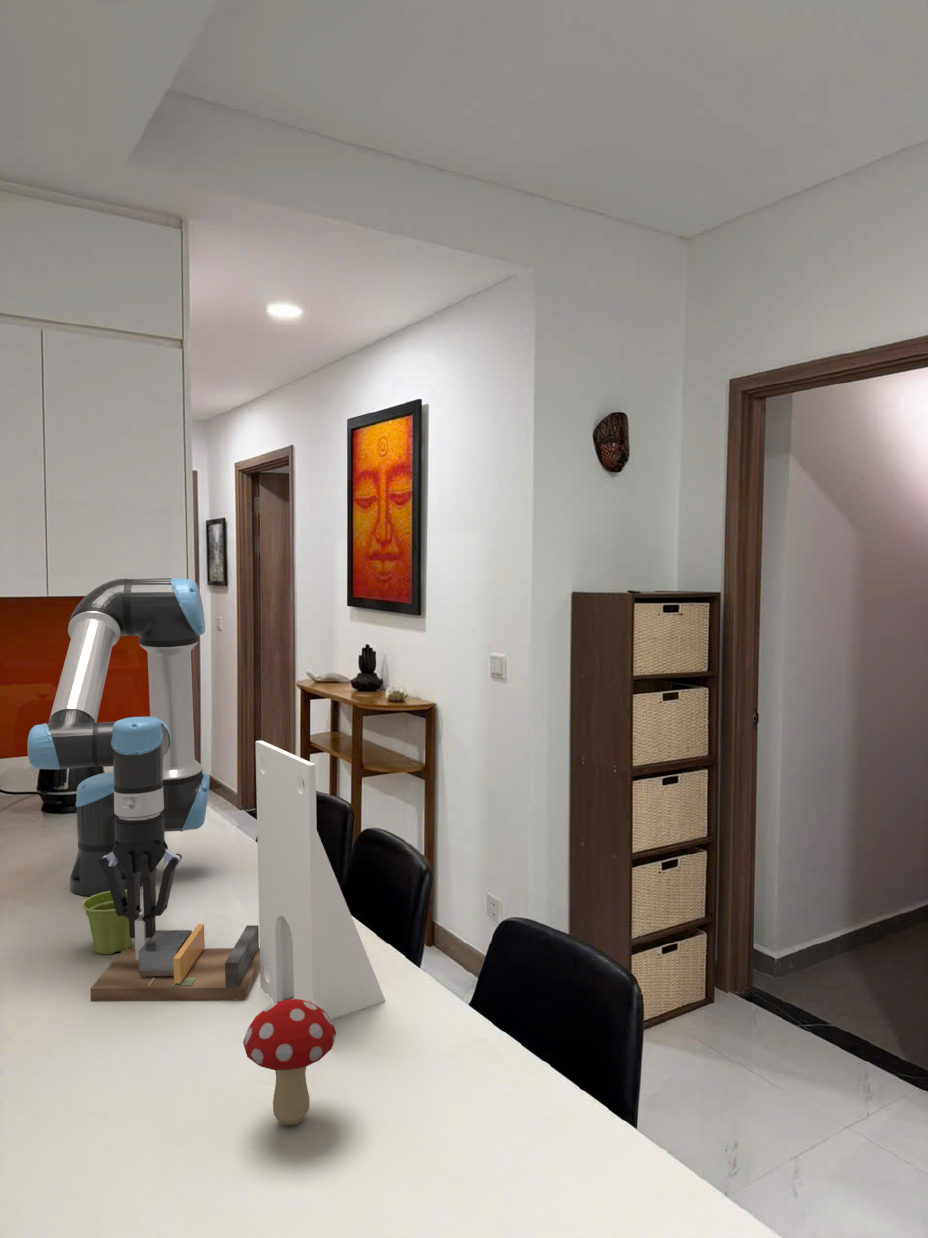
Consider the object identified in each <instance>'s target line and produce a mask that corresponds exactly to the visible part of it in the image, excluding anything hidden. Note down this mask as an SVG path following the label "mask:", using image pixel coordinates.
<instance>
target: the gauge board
mask: <svg viewBox="0 0 928 1238" xmlns="http://www.w3.org/2000/svg"><path fill="white" fill-rule="evenodd" d="M258 974H260V936H259V925H258V924H257V925H255V924H253V925H249V924H248V925H246V926H245V928H244V930H243V931H242V933H241V935H240V937H239V938H238V940H237V941H236V943H235V944H234V947H233V948H231V947H229V948H228V947H225V948H224V947H222V948H221V947H220V948H219V947H215V948H214V947H211V948H209V947H208V948H206V947H204V949H203V950H202V952H201V953H200V955H199V956H198V958H197V959H196V961H195V962H194V964H193V965H192V967H191V968H190V970H189V971H188V973H187V974H186V976H185V977H184V979H183V980H182V982H181V983H174V976H139V960H136V951H135V948H128V949H124V950H123V951H122V952H120V954H118V955H117V957H116V958H115V959H114V961H113V962H112V963H111V964H110V965H109V966H108V967H107V968H106V970H105V971H104V972H103V973H102V974H101V975H100V977H99V978H98V979H97V980H96V981H95V982H94V984H92V985H91V987H90V1001H91V1002H100V1001H102V1002H103V1001H104V1002H106V1001H107V1002H108V1001H109V1002H116V1001H117V1002H122V1001H125V1002H126V1001H127V1002H128V1001H130V1002H133V1001H134V1002H135V1001H140V1002H141V1001H143V1002H144V1001H153V1002H155V1001H246V999H247V998H248V995H249V993H250V991H251V989H252V987H253V986H254V982H255V981H256V979H257V976H258Z"/></svg>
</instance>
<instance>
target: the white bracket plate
mask: <svg viewBox="0 0 928 1238" xmlns="http://www.w3.org/2000/svg"><path fill="white" fill-rule="evenodd" d="M316 766H317V765H316V763H313V762H312V761H309V760H306V759H304V758H302V757H300V756H298V755H296V754H293V753H291V752H288V751H286V750H284V749H282V748H281V747H278V746H275V745H273V744H271V743H268V742H266V741H264V740H256V741H255V776H256V777H255V778H256V780H255V781H256V783H255V784H256V786H255V787H256V826H257V827H256V829H257V836H256V837H257V876H258V879H257V881H258V885H257V886H258V887H257V888H258V923H259V948H260V971H259V976H260V985H259V986H260V989H262V990H263V992H265V994H266V993H267V994H268V995H269V996H268V995H267V994H266V995H267V996H268V997H269V998H270V999H271V1000H272V1001H273V1002H274V1003H277V1002H279V1001H282V1000H286V999H287V998H288V999H289V998H292V997H293V999H300V1000H305V1001H309V1002H311V1003H313V1004H315V1005H316V1006H318V1007H319V1008H321V1009H323V1010H324V1011H325V1012H326V1014H327V1015H328V1016H329V1017H330V1019H331V1020H332V1019H335V1018H337V1017H341V1016H344V1015H347V1014H350V1013H353V1012H356V1011H359V1010H362V1009H365V1008H369V1007H372V1006H374V1005H378V1004H381V1003H384V1002H386V999H385V997H384V994H383V991H382V988H381V985H380V983H379V981H378V978H377V976H376V974H375V972H374V969H373V966H372V964H371V962H370V959H369V957H368V954H367V951H366V949H365V946H364V944H363V941H362V939H361V936H360V934H359V931H358V929H357V927H356V924H355V922H354V919H353V916H352V914H351V912H350V909H349V906H348V905H347V901H346V899H345V897H344V895H343V892H342V890H341V887H340V884H339V882H338V879H337V877H336V875H335V872H334V870H333V868H332V865H331V862H330V860H329V857H328V855H327V853H326V850H325V847H324V845H323V843H322V841H321V840H322V839H321V837H320V835H319V832H318V830H317V827H318V826H317V823H318V822H317V776H316V775H317V771H316V769H317V768H316Z"/></svg>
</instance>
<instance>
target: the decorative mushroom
mask: <svg viewBox="0 0 928 1238" xmlns="http://www.w3.org/2000/svg"><path fill="white" fill-rule="evenodd" d="M336 1035H337V1031H336V1029H335V1025H334V1023H333V1022H332V1019H330V1017H329V1016H328V1015H327V1014H326V1012H325V1011H324V1010H323V1009H321V1008H319V1007H318V1006H316V1005H315V1004H313V1003H311V1002H309V1001H305V1000H300V999H294V998H290V999H289V998H288V999H283V1000H282V1001H279V1002H277V1003H275V1002H274V1003H272V1004H269V1005H268V1006H267V1007H266V1008H264V1009H263V1010H262V1011H260V1012H259V1013H258V1014H257V1015H256V1016H255V1017H254V1018H253V1020H252V1021H251V1023H250V1024H249V1026H248V1028H247V1031H246V1032H245V1035H244V1038H243V1041H242V1044H243V1047H244V1050H245V1054H246V1056H247V1058H248V1059H249V1060H251V1061H252V1062H253V1063H254V1064H256V1065H257V1066H259V1067H261V1068H265V1069H268V1070H272V1071H275V1086H274V1093H273V1099H272V1100H273V1101H272V1111H273V1115H274V1117H275V1119H276V1120H277V1121H278V1122H279V1123H280V1124H281V1125H283V1126H293V1125H297V1124H299V1123H302V1121H303V1120H304V1119H306V1116H307V1114H308V1113H309V1110H310V1093H309V1089H308V1084H307V1077H306V1076H307V1075H306V1071H307V1067H309V1066H310V1065H312V1064H315V1063H317V1062H319V1061H321V1060H322V1059H323V1058H324V1057H325V1056H326V1055H327V1054H328V1053H329V1052H331V1050H332V1049H333V1046H334V1042H335V1039H336Z"/></svg>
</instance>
